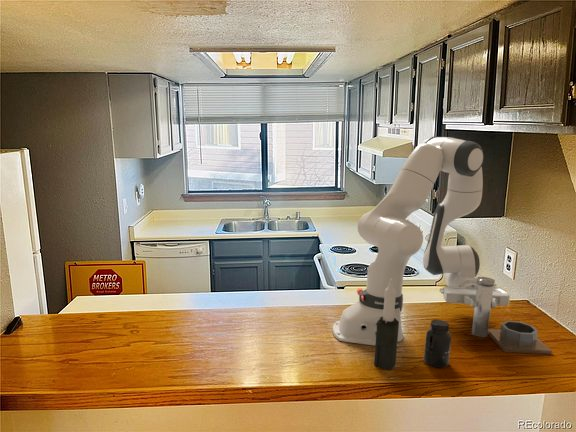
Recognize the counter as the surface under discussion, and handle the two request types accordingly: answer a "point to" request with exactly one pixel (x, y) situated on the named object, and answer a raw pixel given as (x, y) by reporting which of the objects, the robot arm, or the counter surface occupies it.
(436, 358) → the supplement bottle
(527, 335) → the duct collar
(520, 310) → the counter surface
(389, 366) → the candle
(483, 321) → the grey tall capped cylinder
